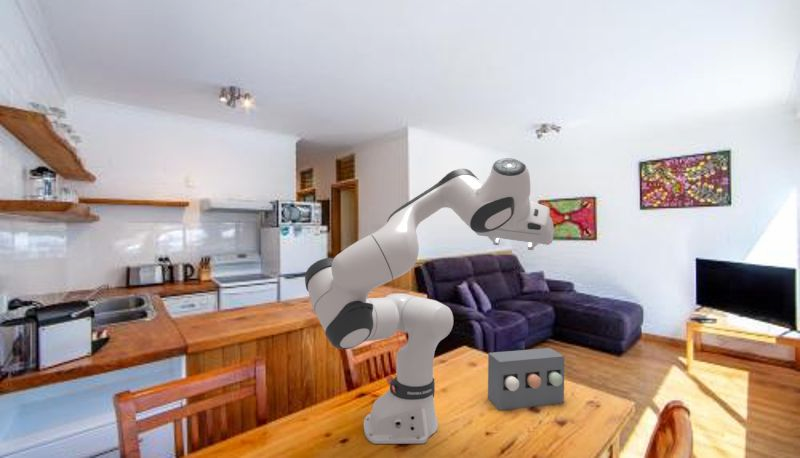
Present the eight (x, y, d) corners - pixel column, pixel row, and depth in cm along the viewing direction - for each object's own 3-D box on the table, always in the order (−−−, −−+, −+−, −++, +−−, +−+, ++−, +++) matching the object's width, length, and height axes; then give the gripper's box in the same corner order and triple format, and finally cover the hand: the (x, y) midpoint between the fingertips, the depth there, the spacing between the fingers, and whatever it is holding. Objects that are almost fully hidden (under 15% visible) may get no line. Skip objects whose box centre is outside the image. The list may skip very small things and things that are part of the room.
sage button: (551, 386, 116) (551, 374, 116) (547, 384, 118) (547, 371, 117) (562, 385, 116) (562, 373, 116) (558, 383, 118) (558, 370, 118)
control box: (499, 410, 114) (499, 361, 113) (487, 398, 122) (488, 352, 121) (563, 402, 119) (564, 356, 118) (549, 391, 127) (549, 347, 126)
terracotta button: (529, 389, 114) (529, 376, 114) (526, 386, 116) (526, 373, 116) (541, 388, 115) (541, 375, 115) (537, 385, 117) (537, 372, 117)
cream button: (507, 391, 112) (507, 378, 112) (504, 388, 114) (504, 376, 114) (519, 390, 113) (519, 377, 113) (515, 387, 115) (516, 374, 115)
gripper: (468, 217, 92) (474, 248, 102) (552, 227, 83) (550, 260, 93) (474, 200, 95) (479, 232, 105) (556, 207, 86) (553, 242, 96)
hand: (513, 245), depth 99 cm, fingers open, 8 cm apart
